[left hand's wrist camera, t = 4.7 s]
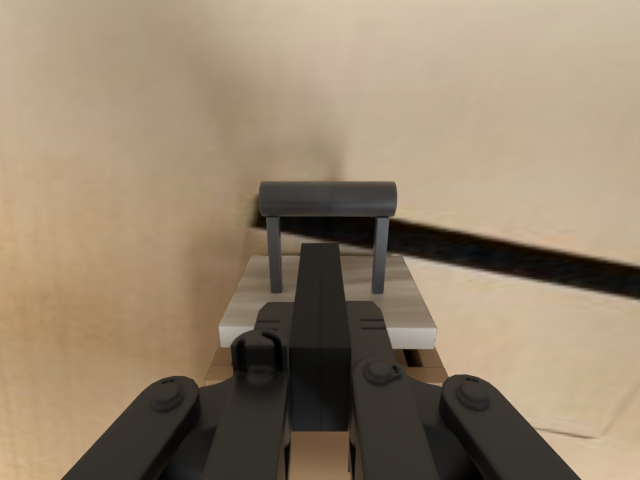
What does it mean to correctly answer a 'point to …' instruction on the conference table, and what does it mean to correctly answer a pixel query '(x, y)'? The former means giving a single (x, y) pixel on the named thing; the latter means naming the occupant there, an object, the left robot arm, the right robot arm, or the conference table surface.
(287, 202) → the drawer
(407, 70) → the conference table surface
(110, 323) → the conference table surface
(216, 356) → the cabinet
